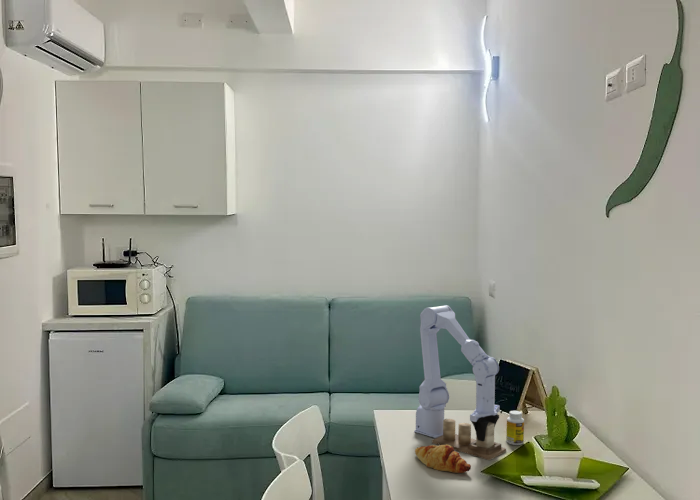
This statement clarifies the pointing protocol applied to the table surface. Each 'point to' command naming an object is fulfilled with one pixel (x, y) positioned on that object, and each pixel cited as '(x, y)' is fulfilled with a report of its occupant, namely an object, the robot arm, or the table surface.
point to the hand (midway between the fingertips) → (484, 438)
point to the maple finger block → (487, 437)
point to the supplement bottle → (515, 428)
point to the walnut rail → (465, 447)
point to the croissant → (442, 458)
